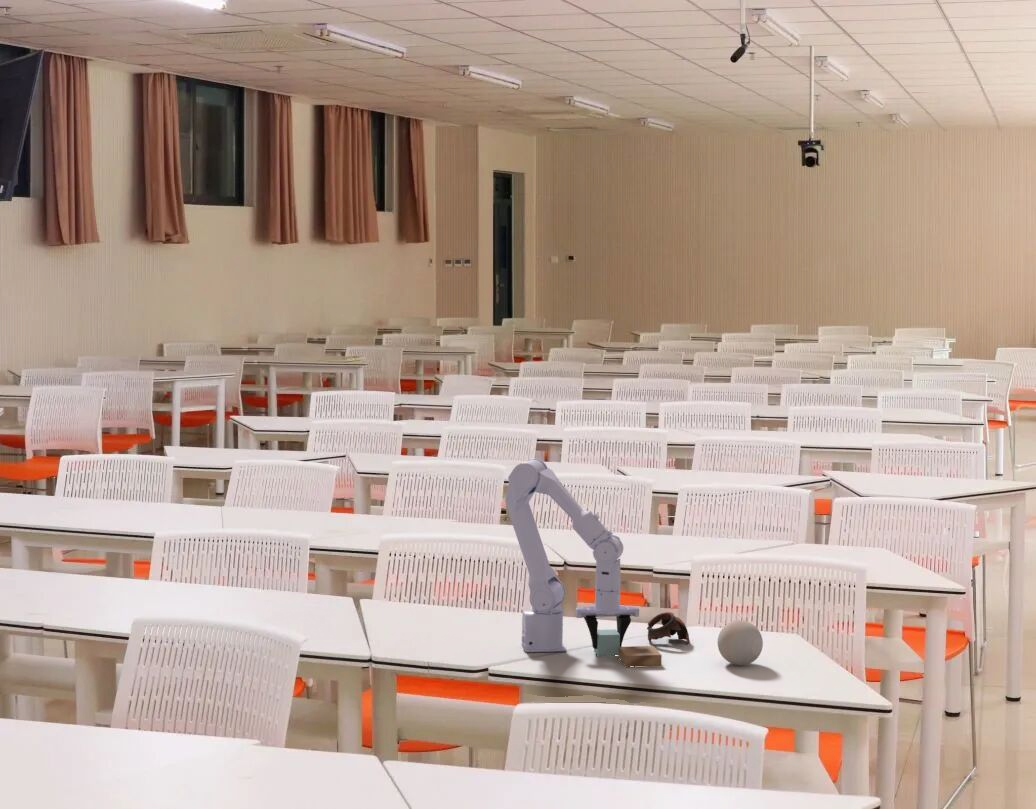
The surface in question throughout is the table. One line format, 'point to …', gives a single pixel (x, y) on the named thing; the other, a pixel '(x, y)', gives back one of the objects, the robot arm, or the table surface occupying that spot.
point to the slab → (640, 656)
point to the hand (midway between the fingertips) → (606, 647)
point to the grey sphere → (740, 642)
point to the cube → (607, 643)
